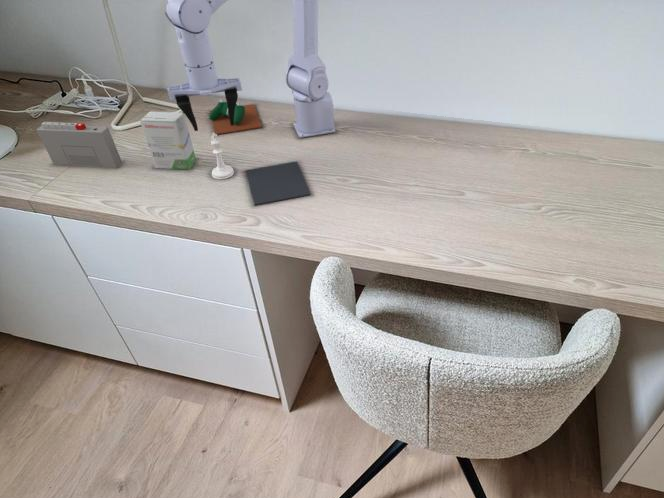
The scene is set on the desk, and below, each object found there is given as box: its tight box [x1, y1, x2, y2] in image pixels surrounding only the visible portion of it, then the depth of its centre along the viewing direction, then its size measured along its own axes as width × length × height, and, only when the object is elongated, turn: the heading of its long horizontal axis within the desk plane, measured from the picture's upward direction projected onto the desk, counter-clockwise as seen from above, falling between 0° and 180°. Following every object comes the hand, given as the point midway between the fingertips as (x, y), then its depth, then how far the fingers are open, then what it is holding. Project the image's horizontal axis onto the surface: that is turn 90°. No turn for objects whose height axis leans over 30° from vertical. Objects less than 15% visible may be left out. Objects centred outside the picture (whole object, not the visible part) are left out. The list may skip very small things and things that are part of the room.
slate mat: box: [244, 161, 312, 207], centre depth 109 cm, size 12×14×1 cm
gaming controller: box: [209, 98, 245, 125], centre depth 130 cm, size 9×4×6 cm
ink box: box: [139, 110, 197, 170], centre depth 112 cm, size 9×5×12 cm, turn 84°
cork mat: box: [209, 103, 263, 136], centre depth 131 cm, size 12×14×1 cm
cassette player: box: [36, 121, 123, 169], centre depth 113 cm, size 16×3×10 cm, turn 83°
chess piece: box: [210, 132, 235, 180], centre depth 109 cm, size 5×5×10 cm
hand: (214, 126), depth 107 cm, fingers open, 7 cm apart
